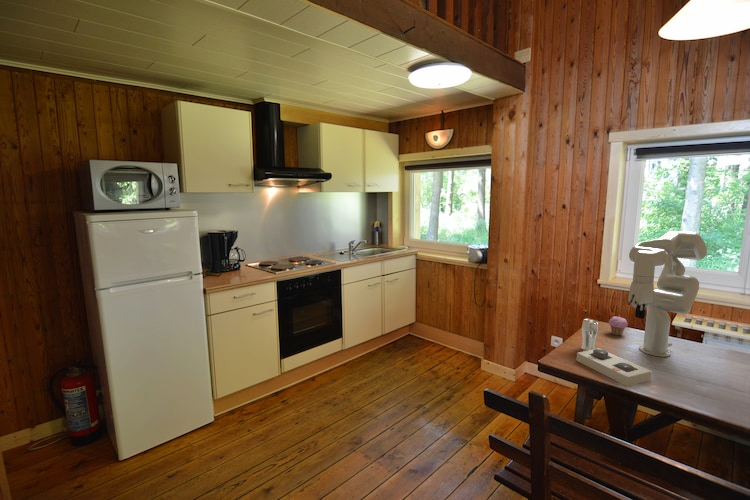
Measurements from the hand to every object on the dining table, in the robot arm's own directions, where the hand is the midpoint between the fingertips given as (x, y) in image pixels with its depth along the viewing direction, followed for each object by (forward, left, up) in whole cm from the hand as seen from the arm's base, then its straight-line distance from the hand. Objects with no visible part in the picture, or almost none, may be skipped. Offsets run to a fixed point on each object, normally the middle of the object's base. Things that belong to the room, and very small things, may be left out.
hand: (639, 317), depth 170 cm
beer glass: (+5, -20, -23) cm, 31 cm away
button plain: (+14, -6, -20) cm, 25 cm away
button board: (+14, 0, -23) cm, 27 cm away
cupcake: (-27, -29, -23) cm, 46 cm away
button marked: (+14, +6, -21) cm, 26 cm away
